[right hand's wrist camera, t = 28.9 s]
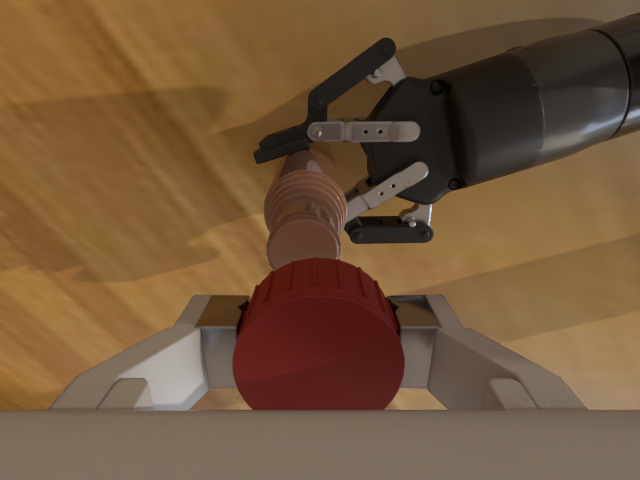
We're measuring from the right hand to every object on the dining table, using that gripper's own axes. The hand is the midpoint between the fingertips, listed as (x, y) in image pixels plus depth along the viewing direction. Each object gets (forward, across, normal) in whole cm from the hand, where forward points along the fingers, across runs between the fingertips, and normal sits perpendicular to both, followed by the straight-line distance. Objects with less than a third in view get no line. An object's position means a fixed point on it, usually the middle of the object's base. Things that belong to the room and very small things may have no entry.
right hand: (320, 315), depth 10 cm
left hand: (+16, -4, 0) cm, 16 cm away
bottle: (+22, -1, 0) cm, 22 cm away
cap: (-2, 0, 0) cm, 2 cm away
